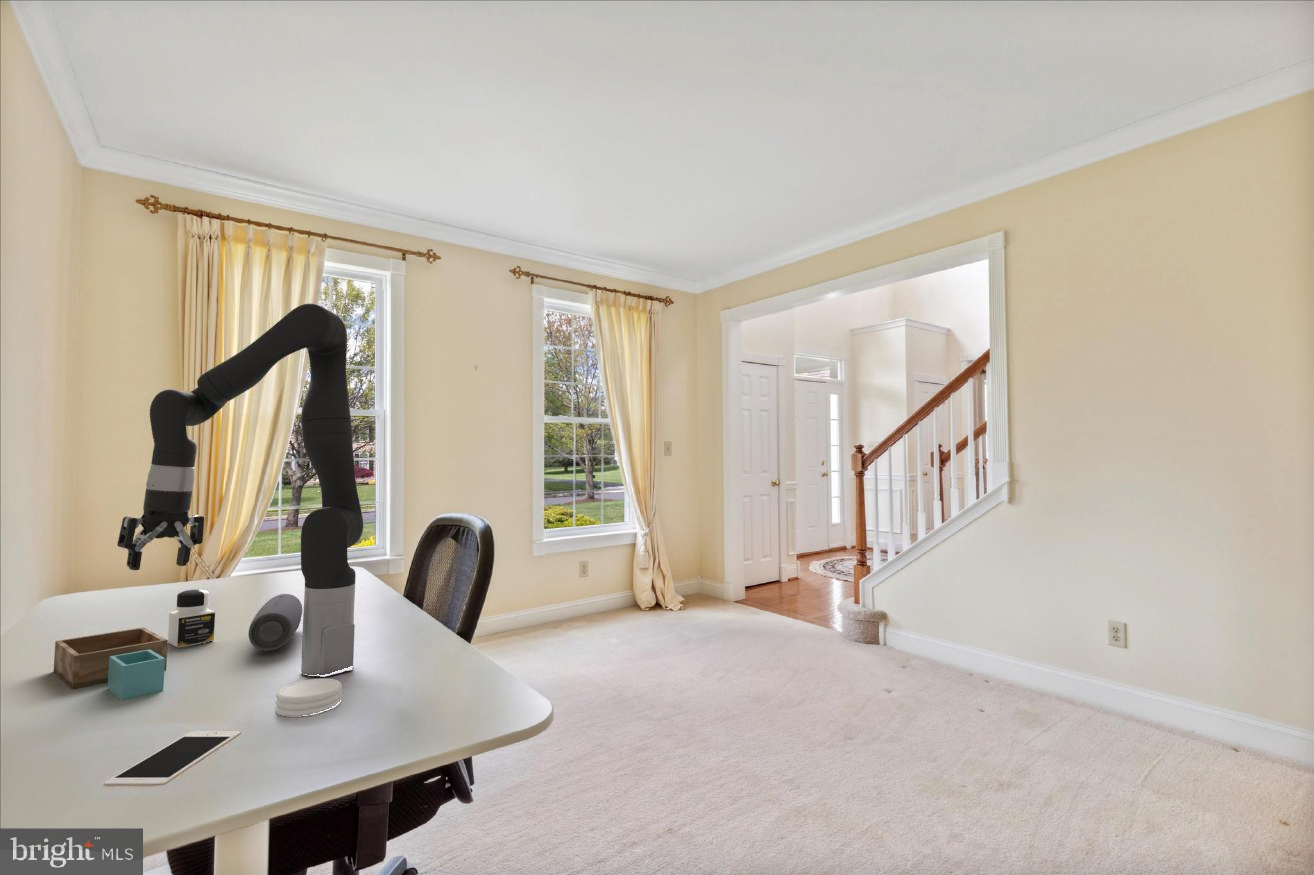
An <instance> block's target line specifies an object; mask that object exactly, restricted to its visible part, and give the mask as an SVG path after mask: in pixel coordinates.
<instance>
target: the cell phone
mask: <svg viewBox="0 0 1314 875" xmlns="http://www.w3.org/2000/svg"><path fill="white" fill-rule="evenodd" d="M241 734H242V731H237V730H236V731H235V730H232V731H231V730H229V731H227V730H226V731H223V730H222V731H215V730H213V731H211V730H210V731H207V730H206V731H205V730H204V731H203V730H202V731H201V730H199V731H197V730H192V731H189V732H187V733H186V734H184V735H182V736H180V737H179V738H177V739H175V740H174V741H172V742H170V743H169V744H167V745H165V746H163V747H162V748H160V749H158V750H157V751H155V752H153V753H152V754H150V755H149V756H147V757H145V758H143V759H142V760H139V761H138V762H136V763H134V764H133V765H131V766H130V767H128V768H126V769H125V770H122V771H121V772H119V773H117V774H116V775H113V776H112V777H110V778H109V779H108V780H106V781H104V783H103V785H104V786H162V785H166V784H167V783H169V782H170V781H172V780H173V779H175V778H176V777H178V776H180V775H181V774H183V773H184V772H185V771H187V770H188V769H190V768H191V767H192V766H194V765H196V764H197V763H199V762H201V761H202V760H203V759H205V758H207V757H208V756H209V755H211V754H212V753H214V752H215V751H217V750H219V749H220V748H221V747H223V746H224V745H226V744H228V743H229V742H231V741H232V740H233V739H235V738H236V737H238V736H239V735H241Z"/></svg>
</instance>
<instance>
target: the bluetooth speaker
mask: <svg viewBox="0 0 1314 875" xmlns="http://www.w3.org/2000/svg"><path fill="white" fill-rule="evenodd" d="M302 615H303V604H302V602H301V601H300V599H299V598H298V597H297V596H295V595H294V594H290V593H280V594H278V595H275V596H274V597H272V598H270V599H268V601H266V602H265V603H264V604H263V605H262V606H261V608H260V609H259V610H258V611H257V613H256V614H255V616H254V617H253V619H252V621H251V622H250V625H249V628H248V639H249V642H250V644H251V645H252V646H253V647H254V648H255V649H257V650H260V651H264V652H265V651H266V652H267V651H268V652H269V651H275V650H278V649H280V647H281V648H282V647H284V645H286V644H288V642H289V641H290V640H291V639H292V637H293V636H294V635H295V633H296V632H297V630H298V629H299V626H300V625H301V624H300V623H301V621H302V617H303V616H302Z"/></svg>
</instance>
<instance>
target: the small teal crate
mask: <svg viewBox="0 0 1314 875" xmlns="http://www.w3.org/2000/svg"><path fill="white" fill-rule="evenodd" d="M164 669H165V658H164V657H162V656H160V655H159V654H157V653H155V652H154V651H152V650H150V649H149V650H144V651H138V652H132V653H127V654H121V655H115V656H110V657H109V671H108V682H107V688H108V689H109V690H110V691H109V690H108V689H107V690H108V691H109V692H111V693H112V692H113V693H114V694H115V695H116V698H118V697H119V698H118V699H121V700H120V701H124V700H128V699H131V698H132V697H133V698H137V697H142V696H146V695H150V694H149V693H151V694H155V693H158V692H163V691H164V686H165V685H164V683H165V670H164ZM113 693H112V694H113ZM114 694H113V695H114ZM115 695H114V696H115ZM141 695H142V696H141Z"/></svg>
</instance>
